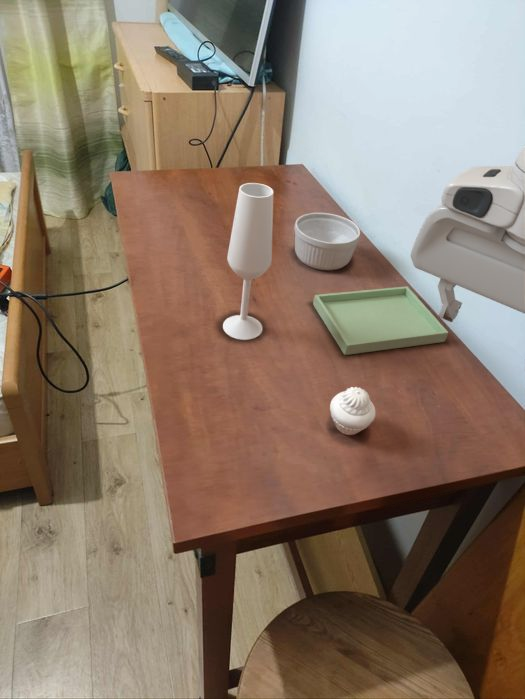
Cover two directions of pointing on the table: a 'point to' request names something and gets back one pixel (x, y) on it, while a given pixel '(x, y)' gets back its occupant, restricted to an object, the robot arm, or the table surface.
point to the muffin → (352, 410)
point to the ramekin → (325, 240)
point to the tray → (378, 320)
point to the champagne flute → (250, 251)
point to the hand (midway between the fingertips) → (491, 337)
